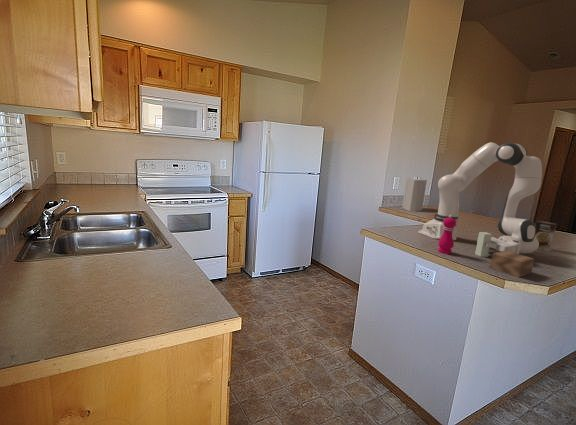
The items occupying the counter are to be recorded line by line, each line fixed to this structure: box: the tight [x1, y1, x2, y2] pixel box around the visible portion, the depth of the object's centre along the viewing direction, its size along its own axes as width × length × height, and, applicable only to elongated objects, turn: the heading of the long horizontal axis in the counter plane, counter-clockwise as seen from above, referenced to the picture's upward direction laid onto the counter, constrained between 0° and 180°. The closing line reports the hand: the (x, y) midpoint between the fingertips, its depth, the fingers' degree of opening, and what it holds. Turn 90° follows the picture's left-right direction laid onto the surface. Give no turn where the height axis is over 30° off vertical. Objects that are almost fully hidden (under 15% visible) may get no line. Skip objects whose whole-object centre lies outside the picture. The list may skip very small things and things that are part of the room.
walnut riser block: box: [489, 251, 535, 278], centre depth 144 cm, size 12×12×7 cm
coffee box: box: [535, 220, 558, 253], centre depth 185 cm, size 9×6×16 cm
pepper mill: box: [437, 215, 457, 255], centre depth 164 cm, size 7×7×20 cm
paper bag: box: [402, 177, 428, 212], centre depth 291 cm, size 19×15×28 cm
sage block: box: [474, 231, 493, 258], centre depth 164 cm, size 4×4×12 cm
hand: (481, 243), depth 164 cm, fingers closed on sage block, 4 cm apart
